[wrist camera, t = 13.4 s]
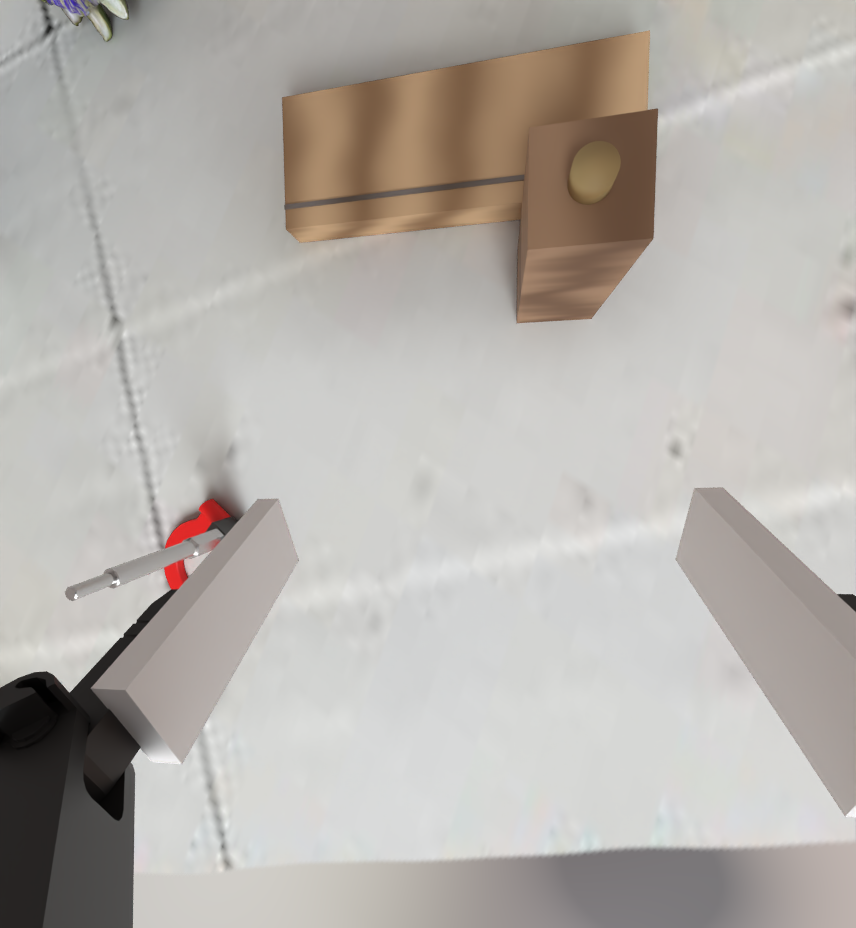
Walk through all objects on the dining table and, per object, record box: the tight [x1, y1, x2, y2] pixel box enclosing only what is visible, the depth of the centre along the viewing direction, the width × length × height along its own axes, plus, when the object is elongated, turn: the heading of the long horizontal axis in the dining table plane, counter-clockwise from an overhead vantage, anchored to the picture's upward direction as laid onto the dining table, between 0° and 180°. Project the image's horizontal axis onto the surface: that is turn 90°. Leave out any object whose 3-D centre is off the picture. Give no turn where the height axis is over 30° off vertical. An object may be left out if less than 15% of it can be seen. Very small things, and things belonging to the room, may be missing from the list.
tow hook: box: [65, 499, 238, 601], centre depth 27 cm, size 8×13×9 cm
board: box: [282, 31, 650, 243], centre depth 26 cm, size 24×9×2 cm, turn 90°
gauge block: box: [517, 109, 658, 323], centre depth 21 cm, size 5×5×12 cm
